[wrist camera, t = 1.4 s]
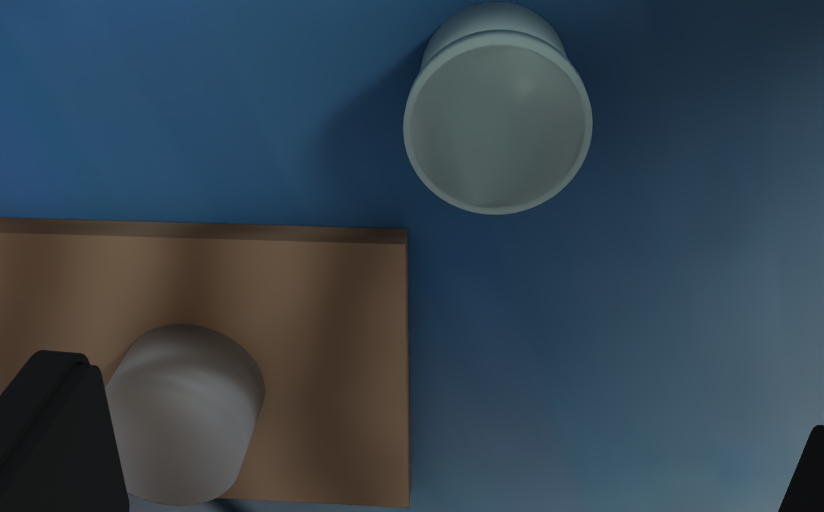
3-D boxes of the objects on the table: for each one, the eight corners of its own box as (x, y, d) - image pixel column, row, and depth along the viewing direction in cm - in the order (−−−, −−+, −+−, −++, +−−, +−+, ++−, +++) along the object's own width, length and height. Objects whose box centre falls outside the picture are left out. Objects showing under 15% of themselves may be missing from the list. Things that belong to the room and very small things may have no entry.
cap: (581, -5, 25) (603, 38, 21) (565, 151, 28) (582, 216, 24) (414, -6, 26) (402, 35, 21) (415, 148, 28) (404, 212, 24)
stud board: (407, 228, 30) (395, 306, 26) (410, 487, 37) (401, 583, 33) (-45, 216, 31) (-132, 288, 27) (43, 469, 38) (-14, 559, 34)
